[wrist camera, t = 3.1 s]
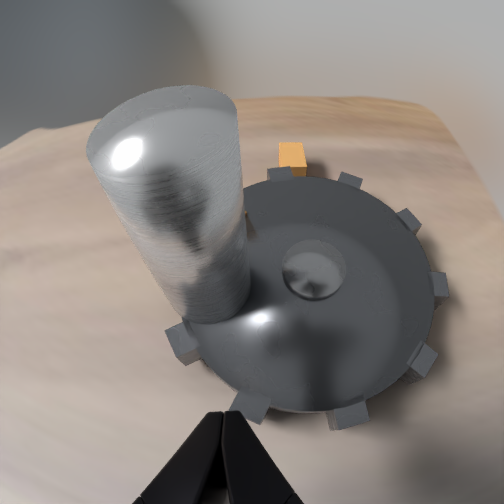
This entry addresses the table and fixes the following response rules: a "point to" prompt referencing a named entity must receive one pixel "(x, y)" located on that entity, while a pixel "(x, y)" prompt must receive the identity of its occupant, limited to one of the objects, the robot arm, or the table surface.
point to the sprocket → (267, 261)
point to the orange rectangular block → (293, 158)
